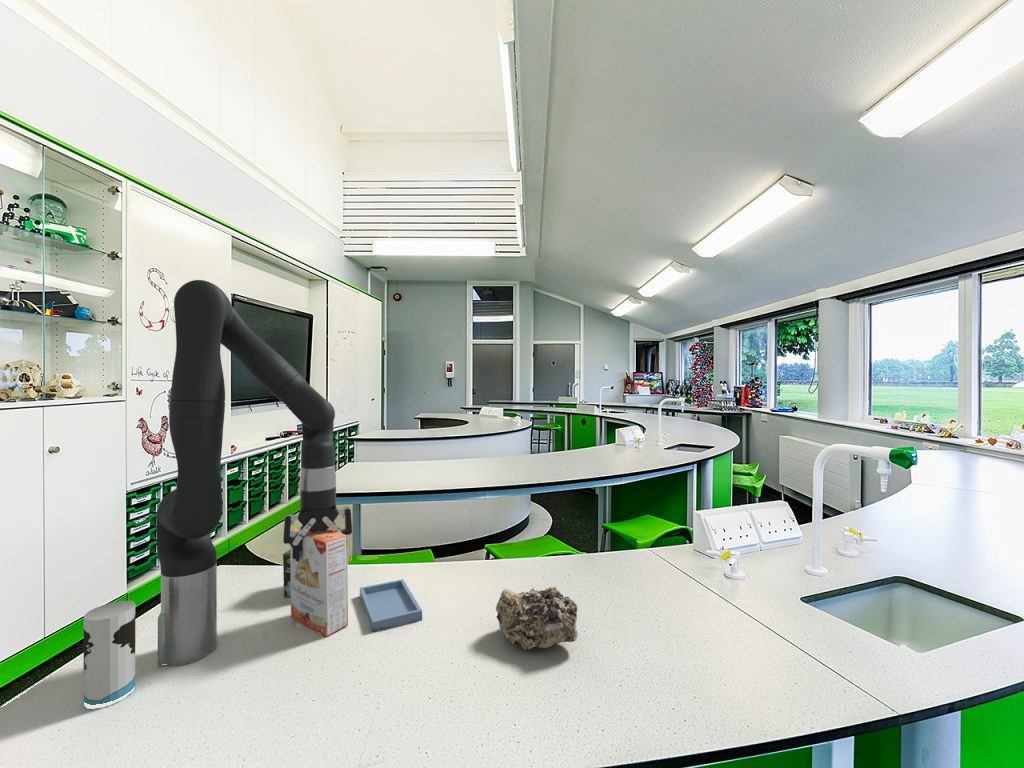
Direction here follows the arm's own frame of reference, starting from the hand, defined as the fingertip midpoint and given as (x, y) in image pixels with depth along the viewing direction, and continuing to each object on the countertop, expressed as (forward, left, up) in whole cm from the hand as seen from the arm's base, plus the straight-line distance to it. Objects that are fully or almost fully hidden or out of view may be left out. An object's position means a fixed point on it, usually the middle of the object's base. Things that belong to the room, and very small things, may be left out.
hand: (318, 556), depth 102 cm
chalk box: (-1, +19, -15) cm, 24 cm away
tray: (+16, 0, -15) cm, 22 cm away
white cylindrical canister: (-34, -9, -15) cm, 38 cm away
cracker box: (0, 0, -15) cm, 15 cm away
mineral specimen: (+42, -27, -15) cm, 52 cm away
